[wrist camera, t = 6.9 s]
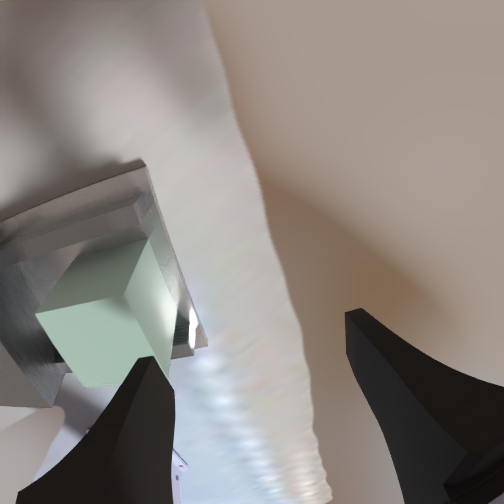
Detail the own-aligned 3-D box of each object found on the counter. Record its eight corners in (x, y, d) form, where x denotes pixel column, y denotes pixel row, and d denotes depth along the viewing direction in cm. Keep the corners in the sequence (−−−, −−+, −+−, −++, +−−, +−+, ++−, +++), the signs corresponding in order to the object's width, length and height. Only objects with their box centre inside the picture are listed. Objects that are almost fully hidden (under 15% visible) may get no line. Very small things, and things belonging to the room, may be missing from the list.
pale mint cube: (177, 311, 19) (168, 378, 14) (107, 325, 19) (84, 387, 14) (148, 238, 17) (124, 294, 12) (74, 259, 17) (34, 313, 12)
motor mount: (208, 341, 21) (208, 405, 16) (18, 367, 21) (-4, 413, 16) (141, 147, 15) (107, 168, 10) (-56, 236, 15) (-99, 271, 10)
